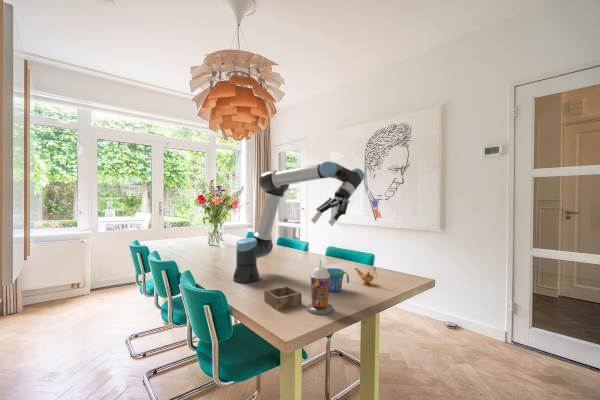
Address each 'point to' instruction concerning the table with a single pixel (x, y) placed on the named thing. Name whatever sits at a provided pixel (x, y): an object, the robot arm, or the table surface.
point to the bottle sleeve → (282, 297)
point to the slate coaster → (320, 310)
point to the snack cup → (336, 279)
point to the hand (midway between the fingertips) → (321, 222)
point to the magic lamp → (365, 277)
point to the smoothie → (320, 287)
